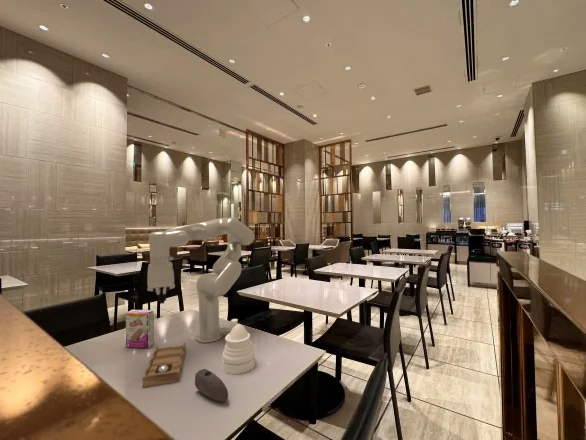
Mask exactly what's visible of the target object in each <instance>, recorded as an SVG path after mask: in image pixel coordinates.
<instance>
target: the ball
mask: <svg viewBox="0 0 586 440" xmlns="http://www.w3.org/2000/svg"><path fill="white" fill-rule="evenodd" d="M163 372H170V371H169V367H168V366H167V365H162V366H160V367H159V368H158V371H157V373H163Z"/></svg>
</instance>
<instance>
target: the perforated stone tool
mask: <svg viewBox="0 0 586 440" xmlns="http://www.w3.org/2000/svg"><path fill="white" fill-rule="evenodd" d="M194 386H195V388H196V389H197V390H198V391H199V392H200V393H201V394H202V395H204V396H205V397H208V398H210V399H212V400H214V401H216V402H223V403H224V402H226V401H227V400H228V398H229V391H228V388H227V387H226V385H225V383H224V381H223V380H222V379H221V378H220V377H219V376H218V375H216V374H215V373H214V372H212V371H211V370H208V369H206V368H203V369H200V370H198V371H197V372H196V373H195V375H194Z"/></svg>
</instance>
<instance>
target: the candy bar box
mask: <svg viewBox="0 0 586 440" xmlns="http://www.w3.org/2000/svg"><path fill="white" fill-rule="evenodd" d="M124 314H125V348H129V349H131V348H132V349H150V348H151V347H152V346H153V345H154V344H155V327H154V326H155V323H154V320H155V318H154V317H155V316H154V315H155V314H154V310H151V309H131V310H129V311H127V312H125V313H124Z"/></svg>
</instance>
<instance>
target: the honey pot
mask: <svg viewBox="0 0 586 440" xmlns="http://www.w3.org/2000/svg"><path fill="white" fill-rule="evenodd" d="M238 320H239V319H238V318H233V319H231V320H230V321H231V324H232V325H233V327H232V329H231V330H230V332H228V333H227V335H226V336H225V337H224V340H225V341H226V343H225V345H224V348H223V352H222V356H221V357H222V360H221V361H222V370H223V371H224V372H225V373H227V372H228V373H227V374H230V373H231V375H240V374H239V373H242V374H245V373H247V371H248V372H249V370H250V369H251V370H252V369H254V367H255V365H256V360H255V359H256V357H255V356H256V353H255V352H256V351H255V348H254V346H253V342H252V340H251V334H250V333H249V331H247V329H246V328H245V327H244V326H243V325H242V324H240V323H238V322H239V321H238ZM251 370H250V371H251ZM244 372H245V373H244Z"/></svg>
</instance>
